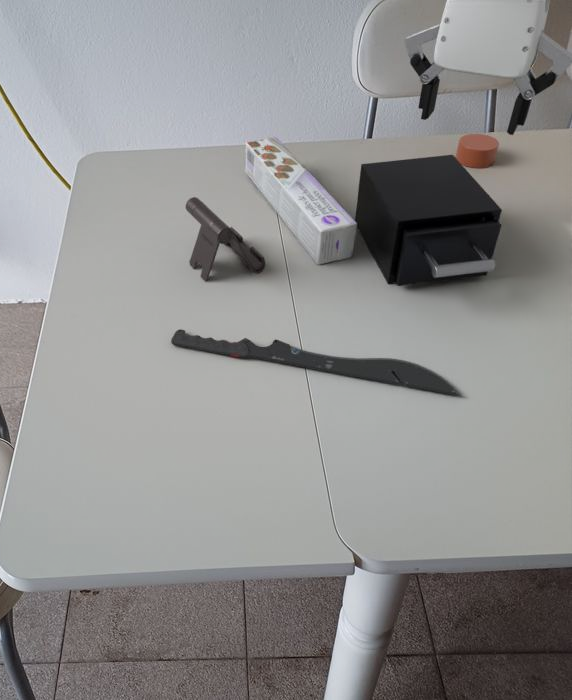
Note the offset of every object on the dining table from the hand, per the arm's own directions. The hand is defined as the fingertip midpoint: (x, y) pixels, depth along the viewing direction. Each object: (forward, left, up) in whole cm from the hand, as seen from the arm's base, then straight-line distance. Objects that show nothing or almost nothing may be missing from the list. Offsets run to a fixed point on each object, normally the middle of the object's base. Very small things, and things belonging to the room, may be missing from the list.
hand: (468, 122), depth 75 cm
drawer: (+3, +3, -16) cm, 17 cm away
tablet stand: (+29, -2, -18) cm, 34 cm away
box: (+17, -13, -18) cm, 28 cm away
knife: (+22, +18, -17) cm, 33 cm away
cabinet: (+3, -1, -17) cm, 18 cm away
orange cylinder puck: (-15, -23, -17) cm, 33 cm away
